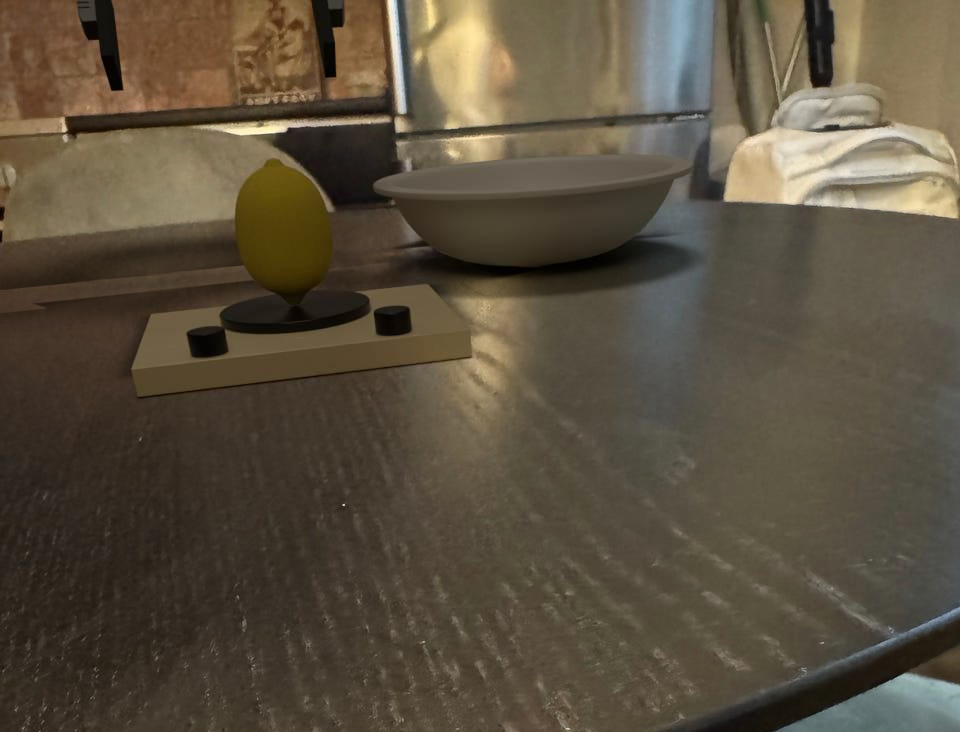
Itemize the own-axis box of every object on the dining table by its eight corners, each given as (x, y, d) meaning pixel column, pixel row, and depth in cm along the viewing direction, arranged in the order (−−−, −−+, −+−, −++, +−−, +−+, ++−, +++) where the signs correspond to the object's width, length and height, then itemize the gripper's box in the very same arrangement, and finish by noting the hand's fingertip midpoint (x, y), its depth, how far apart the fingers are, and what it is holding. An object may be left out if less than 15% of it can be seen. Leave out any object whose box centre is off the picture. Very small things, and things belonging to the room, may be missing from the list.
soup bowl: (688, 290, 65) (692, 182, 62) (343, 300, 70) (330, 199, 67) (690, 232, 86) (694, 147, 82) (422, 242, 90) (415, 163, 87)
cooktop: (156, 337, 64) (146, 294, 62) (429, 306, 66) (426, 264, 65) (137, 397, 52) (125, 345, 50) (472, 356, 55) (468, 306, 53)
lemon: (279, 320, 56) (254, 164, 52) (232, 308, 60) (205, 162, 56) (359, 301, 59) (341, 153, 55) (309, 291, 63) (288, 152, 59)
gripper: (-28, -243, 62) (-5, 26, 57) (365, -248, 66) (419, 5, 61) (13, -124, 69) (36, 125, 64) (365, -134, 73) (413, 100, 68)
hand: (223, 67), depth 63 cm, fingers open, 13 cm apart
